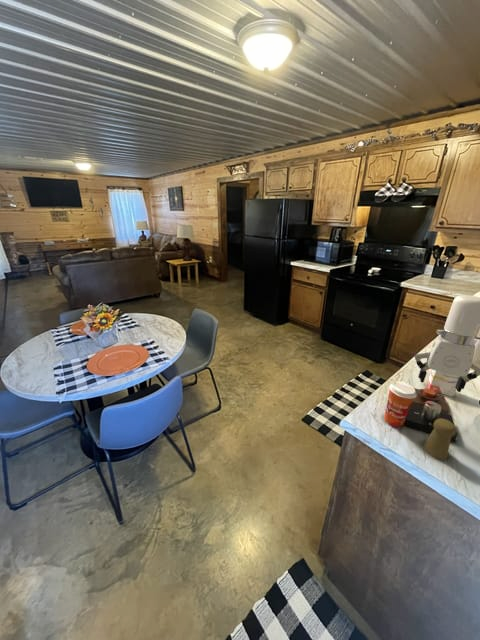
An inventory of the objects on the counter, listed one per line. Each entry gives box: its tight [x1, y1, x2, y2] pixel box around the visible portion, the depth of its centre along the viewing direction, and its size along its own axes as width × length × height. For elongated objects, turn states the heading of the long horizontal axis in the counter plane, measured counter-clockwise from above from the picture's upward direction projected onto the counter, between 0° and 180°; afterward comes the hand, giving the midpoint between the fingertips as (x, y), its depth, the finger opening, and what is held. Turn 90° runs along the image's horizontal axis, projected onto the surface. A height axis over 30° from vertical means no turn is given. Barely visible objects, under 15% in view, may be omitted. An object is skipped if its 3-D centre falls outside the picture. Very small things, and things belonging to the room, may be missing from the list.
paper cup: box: [384, 381, 417, 428], centre depth 88 cm, size 8×8×14 cm
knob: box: [421, 401, 441, 422], centre depth 87 cm, size 4×4×5 cm
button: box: [423, 387, 436, 398], centre depth 98 cm, size 4×4×2 cm
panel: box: [403, 404, 459, 443], centre depth 89 cm, size 14×10×3 cm
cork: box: [423, 419, 457, 461], centre depth 77 cm, size 6×6×11 cm
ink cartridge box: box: [426, 369, 460, 397], centre depth 104 cm, size 9×5×15 cm, turn 65°
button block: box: [412, 387, 450, 414], centre depth 99 cm, size 12×10×4 cm
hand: (439, 384), depth 84 cm, fingers open, 9 cm apart
